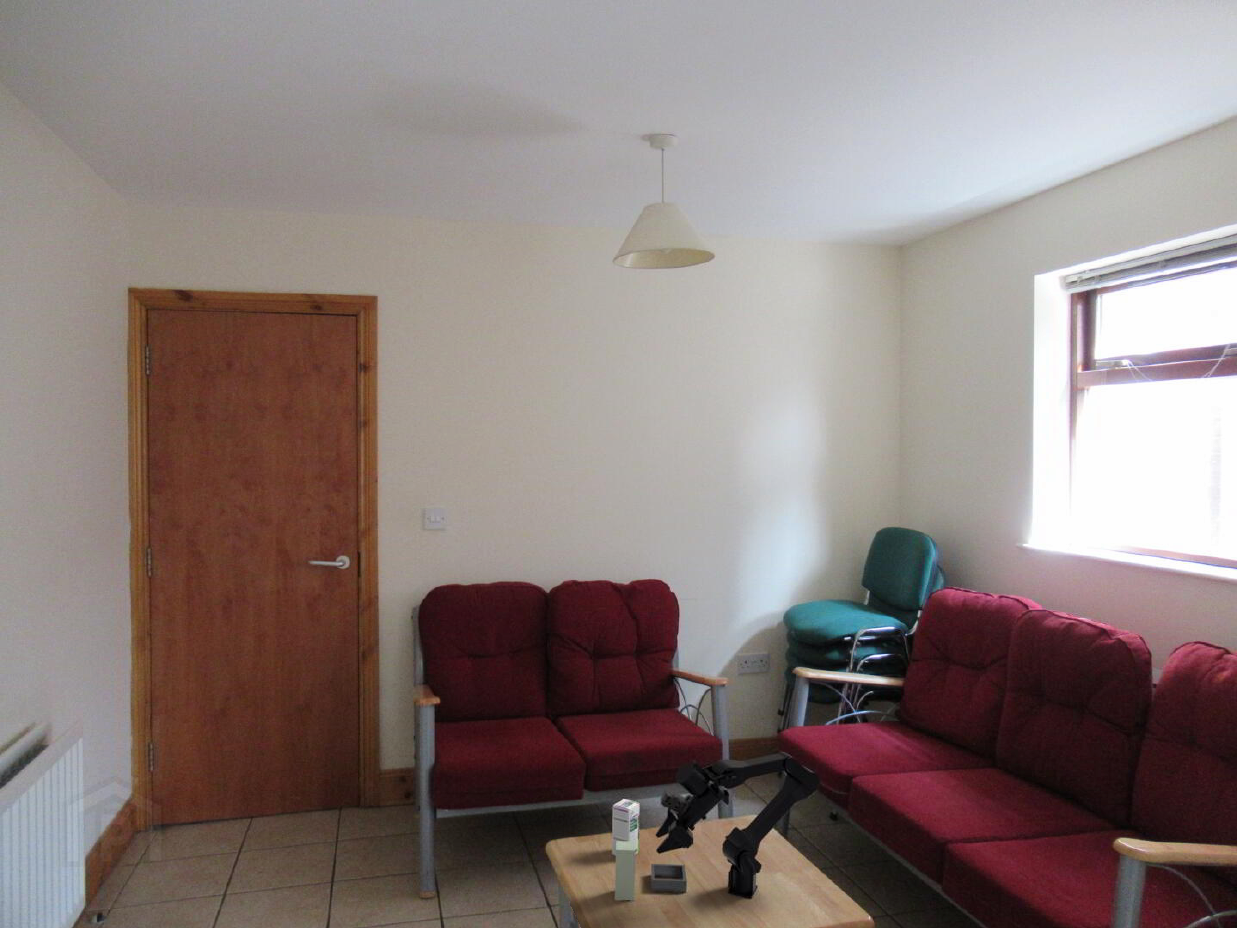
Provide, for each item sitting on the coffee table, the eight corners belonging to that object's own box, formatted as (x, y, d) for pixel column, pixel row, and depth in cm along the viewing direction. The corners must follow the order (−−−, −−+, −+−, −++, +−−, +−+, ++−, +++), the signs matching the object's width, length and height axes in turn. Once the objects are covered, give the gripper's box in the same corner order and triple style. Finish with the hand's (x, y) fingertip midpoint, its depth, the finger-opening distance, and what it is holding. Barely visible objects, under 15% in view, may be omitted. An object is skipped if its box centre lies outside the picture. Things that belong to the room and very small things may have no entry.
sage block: (634, 891, 233) (635, 841, 233) (634, 900, 228) (635, 850, 228) (615, 890, 233) (616, 841, 233) (614, 900, 228) (616, 849, 228)
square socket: (684, 875, 242) (684, 864, 242) (686, 892, 233) (686, 881, 233) (650, 874, 242) (651, 863, 242) (651, 891, 233) (651, 879, 233)
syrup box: (628, 860, 251) (630, 808, 250) (611, 854, 254) (612, 803, 253) (639, 852, 255) (640, 802, 255) (621, 847, 259) (622, 797, 258)
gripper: (678, 767, 239) (635, 806, 240) (681, 794, 221) (635, 836, 221) (706, 797, 239) (664, 837, 240) (712, 827, 221) (666, 869, 221)
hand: (656, 843), depth 231 cm, fingers open, 9 cm apart
